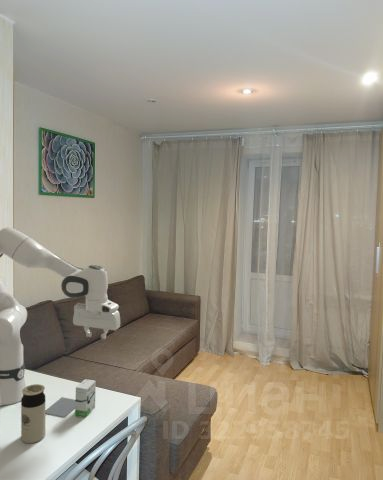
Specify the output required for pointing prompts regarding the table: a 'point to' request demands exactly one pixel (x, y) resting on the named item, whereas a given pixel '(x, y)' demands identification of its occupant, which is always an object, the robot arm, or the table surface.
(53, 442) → the table surface
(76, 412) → the ink box
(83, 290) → the robot arm
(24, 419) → the travel mug
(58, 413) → the mat
